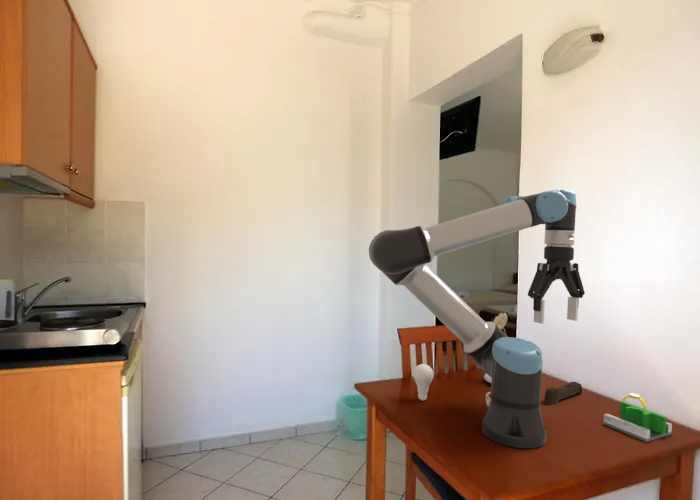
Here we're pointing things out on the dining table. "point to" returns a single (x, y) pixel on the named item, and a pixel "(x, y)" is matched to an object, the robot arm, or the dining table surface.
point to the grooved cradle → (634, 428)
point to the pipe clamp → (643, 417)
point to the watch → (636, 398)
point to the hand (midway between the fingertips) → (555, 321)
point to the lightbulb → (423, 379)
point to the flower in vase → (500, 322)
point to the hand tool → (562, 392)
